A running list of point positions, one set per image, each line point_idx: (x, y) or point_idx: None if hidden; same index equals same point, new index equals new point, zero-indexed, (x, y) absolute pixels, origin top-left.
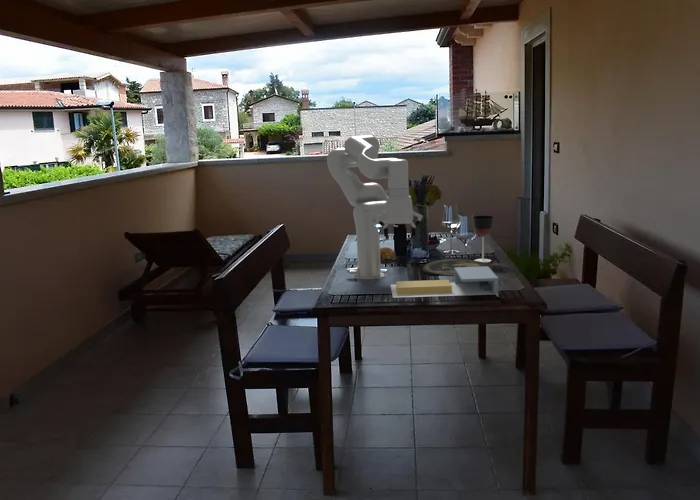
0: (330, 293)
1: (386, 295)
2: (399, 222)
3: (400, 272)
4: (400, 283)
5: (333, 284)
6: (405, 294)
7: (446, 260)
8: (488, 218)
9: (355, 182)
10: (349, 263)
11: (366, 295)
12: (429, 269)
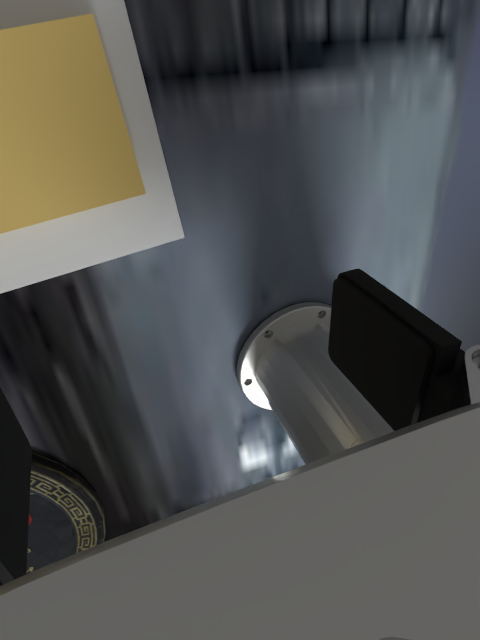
0: (447, 75)
1: (169, 48)
2: (287, 495)
3: (184, 450)
4: (104, 145)
5: (423, 232)
6: (27, 2)
7: None
8: None
9: None
10: None
11: (282, 42)
12: (60, 501)
